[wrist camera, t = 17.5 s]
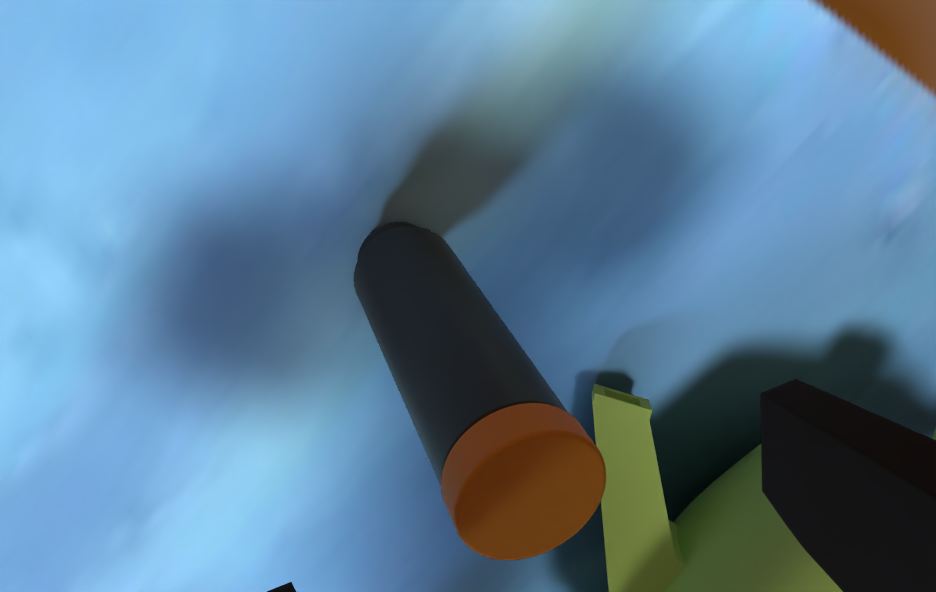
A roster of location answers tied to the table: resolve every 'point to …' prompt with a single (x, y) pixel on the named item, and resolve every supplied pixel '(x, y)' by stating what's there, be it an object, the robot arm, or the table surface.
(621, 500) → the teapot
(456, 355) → the marker
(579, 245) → the table surface
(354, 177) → the table surface
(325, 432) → the table surface
